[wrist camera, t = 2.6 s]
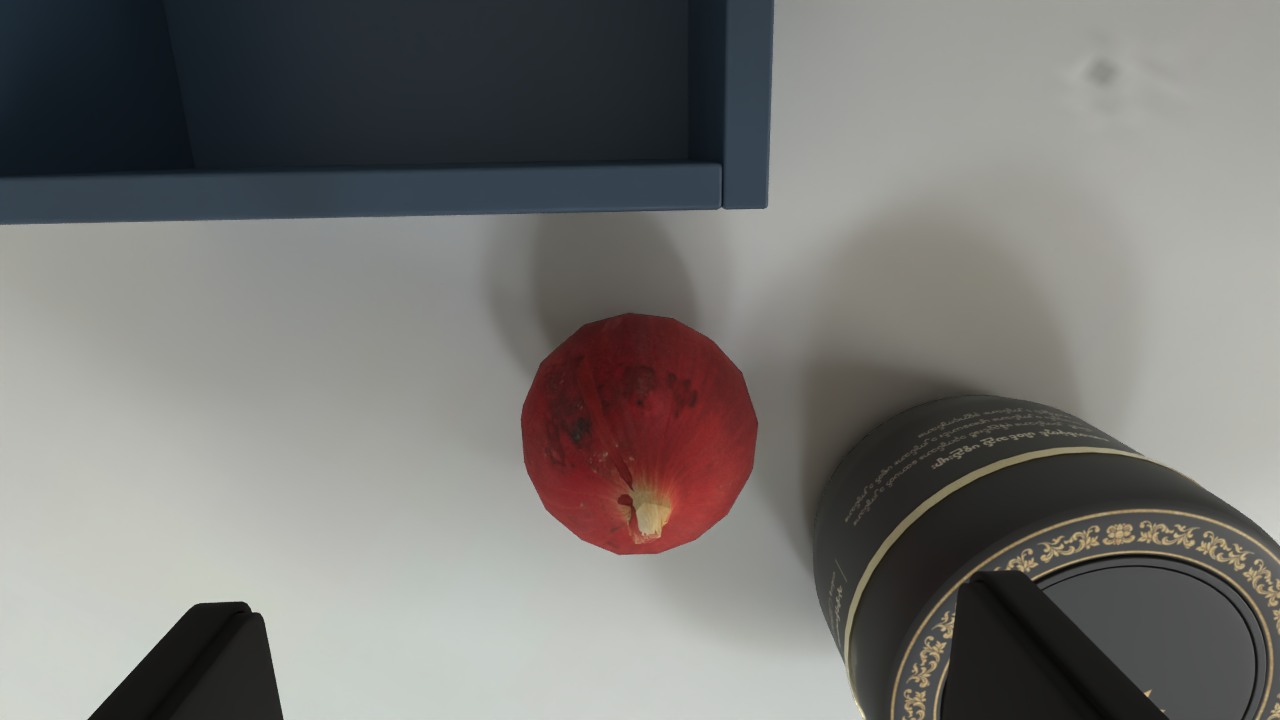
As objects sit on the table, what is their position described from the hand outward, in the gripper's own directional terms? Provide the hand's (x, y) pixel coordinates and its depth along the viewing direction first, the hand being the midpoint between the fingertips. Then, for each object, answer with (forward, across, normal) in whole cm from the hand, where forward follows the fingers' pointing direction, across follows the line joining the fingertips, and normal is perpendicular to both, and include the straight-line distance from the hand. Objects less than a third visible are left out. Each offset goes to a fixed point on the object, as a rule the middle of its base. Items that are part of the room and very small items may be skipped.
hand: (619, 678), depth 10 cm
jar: (+12, -11, +5) cm, 17 cm away
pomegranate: (+12, -1, 0) cm, 13 cm away
